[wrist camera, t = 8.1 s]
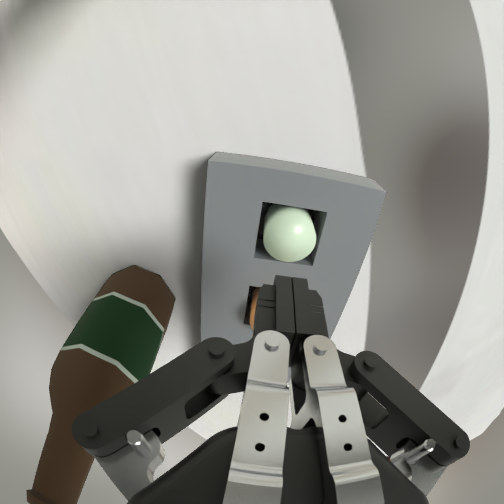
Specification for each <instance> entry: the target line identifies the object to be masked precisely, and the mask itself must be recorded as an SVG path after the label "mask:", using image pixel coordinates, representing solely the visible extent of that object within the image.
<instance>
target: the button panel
mask: <svg viewBox="0 0 504 504" xmlns="http://www.w3.org/2000/svg"><path fill="white" fill-rule="evenodd" d="M386 193H387V192H386V191H385V190H384V189H383V188H382V187H381V186H379V184H378V183H377V182H375V181H374V180H373V179H370V178H366V177H362V176H358V175H353V174H349V173H345V172H340V171H335V170H331V169H326V168H321V167H316V166H311V165H305V164H300V163H294V162H288V161H282V160H276V159H270V158H263V157H256V156H248V155H241V154H232V153H224V152H216V153H215V154H214V155H213V156H212V157H211V158H210V159H209V160H208V168H207V181H206V196H205V212H204V230H203V252H202V282H201V342H202V341H203V340H205V339H207V338H211V337H220V338H224V339H226V340H228V341H229V342H231V343H232V345H234V344H240V343H245V342H247V341H249V340H250V339H252V337H253V329H252V328H251V326H250V312H251V303H250V302H247V298H248V292H249V286H255V287H262V285H263V284H268V285H273V283H274V279H275V275H282V276H290V277H298V278H306V279H307V281H308V287H309V290H316V291H317V292H318V294H319V295H320V296H321V298H322V302H323V308H324V314H325V318H326V324H327V330H328V336H329V339H330V338H331V336H332V334H333V332H334V330H335V327H336V325H337V323H338V321H339V319H340V316H341V314H342V312H343V310H344V307H345V305H346V303H347V300H348V298H349V296H350V293H351V291H352V289H353V286H354V284H355V281H356V279H357V276H358V274H359V271H360V269H361V266H362V263H363V261H364V258H365V255H366V253H367V250H368V247H369V244H370V242H371V239H372V236H373V233H374V230H375V227H376V224H377V221H378V218H379V215H380V212H381V209H382V206H383V202H384V199H385V196H386ZM263 202H269V203H275V204H282V205H288V206H294V207H300V208H306V209H312V210H317V214H316V219H315V223H314V229H315V233H316V244H315V247H314V249H313V250H312V252H311V253H310V254H309V255H308V256H306V257H305V258H303V259H301V260H299V261H295V262H283V261H280V260H277V259H275V258H274V257H272V256H271V255H270V254H269V253H268V252H267V250H266V249H265V246H264V242H263V239H258V238H257V235H258V228H259V222H260V215H261V209H262V203H263ZM290 375H291V367H288V379H287V383H288V381H289V378H290Z"/></svg>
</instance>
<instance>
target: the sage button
mask: <svg viewBox="0 0 504 504" xmlns="http://www.w3.org/2000/svg"><path fill="white" fill-rule="evenodd" d="M263 242H264V246H265V249H266V250H267V252H268V253H269V254H270V255H271V256H272V257H274V258H275V259H277V260H280V261H283V262H295V261H299V260H301V259H303V258H305V257H306V256H308V255H309V254H310V253H311V252H312V250H313V249H314V247H315V244H316V233H315V229H314V226H313V222H312V219H311V215H310V213H309V210H308V209H306V208H300V207H294V206H288V205H282V204H275V203H274V204H273V205H271V206H270V208H269V209H268V210H267V212H266V215H265V221H264V235H263Z"/></svg>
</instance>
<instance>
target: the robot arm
mask: <svg viewBox="0 0 504 504" xmlns="http://www.w3.org/2000/svg"><path fill="white" fill-rule="evenodd" d="M288 367H291V375H290V378H289V381H288V383H289V387H287V379H288ZM243 391H244V394H243V399H242V405H241V410H240V415H239V419H238V424H237V427H232V428H228V429H225V430H223V431H220V432H218V433H216V434H215V435H213V436H212V437H210V438H209V439H208V440H207V441H205V442H204V443H203V444H202V445H201V446H199V447H198V448H197V449H196V450H194V451H193V452H192V453H191V454H189V455H188V456H187V457H186V458H184V459H183V460H182V461H180V462H179V463H178V464H177V465H175V466H174V467H173V468H171V469H170V470H169V471H167V472H166V473H164V474H163V475H162V476H160V477H159V478H157V479H156V480H155V481H154V480H153V475H154V472H155V470H156V468H157V467H158V466H159V465H160V464H161V463H162V462H163V460H164V458H165V451H164V448H163V446H162V444H163V443H164V442H165V441H167V440H168V439H170V438H171V437H173V436H174V435H175V434H177V433H178V432H180V431H181V430H183V429H184V428H186V427H187V426H188V425H190V424H191V423H193V422H194V421H195V420H197V419H198V418H199V417H201V416H202V415H203V414H205V413H206V412H207V411H209V410H210V409H211V408H213V407H214V406H215V405H216V404H218V403H219V402H220V401H222V400H223V399H224V398H225V397H227V396H228V394H231V393H237V392H243ZM367 392H369V393H370V394H371V395H372V396H373V397H374V398H375V399H376V400H377V401H378V402H379V403H380V404H381V405H382V406H384V407H385V408H386V409H387V410H386V409H385V408H383V407H382V406H381V405H380V404H379V403H378V402H377V401H376V400H375V399H374V398H372V396H371V395H369V394H368V393H367ZM289 394H290V403H291V413H292V422H291V427H290V428H289V427H287V419H288V407H289ZM72 435H73V437H74V439H75V441H76V442H77V443H78V444H79V445H80V446H82V447H83V448H84V449H85V450H86V451H87V452H88V453H89V454H90V455H92V456H93V457H94V458H96V460H97V461H98V462H99V464H100V465H101V467H102V468H103V470H104V471H105V472H106V474H107V475H108V476H109V478H110V479H111V480H112V482H113V483H114V484H115V485H116V487H117V488H118V489H119V490H120V492H121V493H122V494H123V495H124V496H125V498H126V499H127V500H128V503H127V504H429V502H428V500H427V497H426V496H427V495H428V493H429V492H430V491H431V489H432V488H433V486H434V485H435V484H436V482H437V481H438V479H439V478H440V476H441V475H442V473H443V472H444V470H445V469H446V467H447V466H448V465H450V464H452V463H454V462H455V461H457V460H459V459H460V458H462V457H464V456H465V455H466V454H467V452H468V450H469V446H470V441H469V437H468V435H467V434H466V433H465V432H464V431H463V430H462V429H461V428H460V427H459V426H458V425H456V424H455V423H454V422H453V421H452V420H451V419H450V418H449V417H448V416H446V415H445V414H444V413H443V412H442V411H441V410H440V409H439V408H437V407H436V406H435V405H434V404H433V403H432V402H431V401H430V400H428V399H427V398H426V397H425V396H424V395H423V394H422V393H420V392H419V391H418V390H417V389H416V388H415V387H414V386H412V385H411V384H410V383H409V382H408V381H407V380H406V379H405V378H403V377H402V376H401V375H400V374H399V373H398V372H397V371H395V370H394V369H393V368H392V367H391V366H390V365H389V364H388V363H386V362H385V361H384V360H383V359H382V358H381V357H380V356H378V355H377V354H376V353H373V352H370V351H362V352H360V353H358V354H357V355H356V357H355V356H352V355H349V354H346V353H343V352H341V351H339V350H338V349H336V346H335V344H334V343H333V341H332V340H330V339H329V336H328V330H327V324H326V318H325V314H324V308H323V302H322V298H321V296H320V295H319V294H318V292H317V291H316V290H309V287H308V281H307V279H306V278H298V277H290V276H282V275H275V279H274V283H273V285H268V284H263V285H262V287H261V288H260V289H259V292H258V297H257V303H256V309H255V315H254V327H253V337H252V339H250V340H249V341H247V342H245V343H241V344H234V345H232V343H231V342H229V341H228V340H226V339H224V338H220V337H211V338H207V339H205V340H203V341H202V342H200V343H199V344H197V345H196V346H194V347H193V348H191V349H189V350H188V351H186V352H185V353H183V354H182V355H180V356H178V357H177V358H175V359H174V360H172V361H170V362H169V363H167V364H166V365H164V366H162V367H161V368H159V369H157V370H156V371H154V372H152V373H151V374H149V375H148V376H146V377H144V378H143V379H141V380H139V381H138V382H136V383H134V384H132V385H131V386H129V387H127V388H126V389H124V390H122V391H120V392H119V393H117V394H115V395H114V396H112V397H110V398H108V399H107V400H105V401H103V402H101V403H99V404H98V405H96V406H94V407H92V408H90V409H89V410H87V411H85V412H83V413H81V414H80V415H78V416H77V417H76V418H75V420H74V421H73V424H72ZM366 435H367V436H368V437H369V438H370V439H371V440H372V441H373V442H374V443H375V444H376V445H377V446H378V447H379V448H381V449H382V450H383V451H384V452H385V453H386V454H387V455H388V456H389V457H390V458H391V459H390V460H389V459H388V458H387V457H386V456H385V455H384V454H383V453H382V452H381V451H380V450H379V449H378V448H377V447H376V446H375V445H374V444H373V443H372V442H371V441H370V440H369V439H368V438H367V437H366Z"/></svg>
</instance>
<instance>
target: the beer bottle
mask: <svg viewBox="0 0 504 504" xmlns="http://www.w3.org/2000/svg"><path fill="white" fill-rule="evenodd" d="M174 303H175V296H174V295H173V293H172V292H171V291H170V289H169V288H168V286H167V285H166V283H165V282H164V280H163V279H162V277H161V276H160V275H158V274H155V273H153V272H150V271H148V270H145V269H143V268H140V267H138V266H135V265H134V266H131V267H129V268H126V269H124V270H121V271H119V272H116V273H114V274H113V275H112V276H111V277H110V278H109V279H108V280H107V281H106V283H105V284H104V285H103V287H102V288H101V289H100V291H99V292H98V294H97V295H96V296H95V298H94V299H93V301H92V302H91V304H90V305H89V307H88V308H87V309H86V311H85V312H84V314H83V315H82V317H81V318H80V320H79V321H78V323H77V324H76V326H75V328H74V329H73V331H72V332H71V334H70V335H69V337H68V339H67V340H66V342H65V343H64V345H63V347H62V348H61V350H60V352H59V354H58V356H57V358H56V360H55V362H54V364H53V367H52V369H51V377H50V385H49V391H50V398H51V405H52V411H53V414H52V418H51V423H50V428H49V432H48V435H47V438H46V441H45V444H44V447H43V450H42V454H41V457H40V460H39V464H38V468H37V472H36V475H35V479H34V483H33V488H32V489H31V490H27V501H28V502H29V503H30V504H77V501H78V499H79V496H80V494H81V491H82V488H83V485H84V483H85V481H86V478H87V476H88V473H89V471H90V468H91V466H92V463H93V461H94V457H93V456H92V455H90V454H89V453H88V452H87V451H86V450H85V449H84V448H83V447H82V446H80V445H79V444H78V443H77V442H76V441H75V439H74V437H73V435H72V424H73V421H74V420H75V418H76V417H77V416H78V415H80V414H81V413H83V412H85V411H87V410H89V409H90V408H92V407H94V406H96V405H98V404H99V403H101V402H103V401H105V400H107V399H108V398H110V397H112V396H114V395H115V394H117V393H119V392H120V391H122V390H124V389H126V388H127V387H129V386H131V385H132V384H134V383H136V382H138V381H139V380H141V379H143V378H144V377H146V376H148V375H149V374H150V372H151V370H152V367H153V364H154V361H155V359H156V356H157V353H158V351H159V348H160V345H161V343H162V340H163V338H164V335H165V332H166V330H167V326H168V323H169V320H170V317H171V313H172V310H173V306H174Z"/></svg>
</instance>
